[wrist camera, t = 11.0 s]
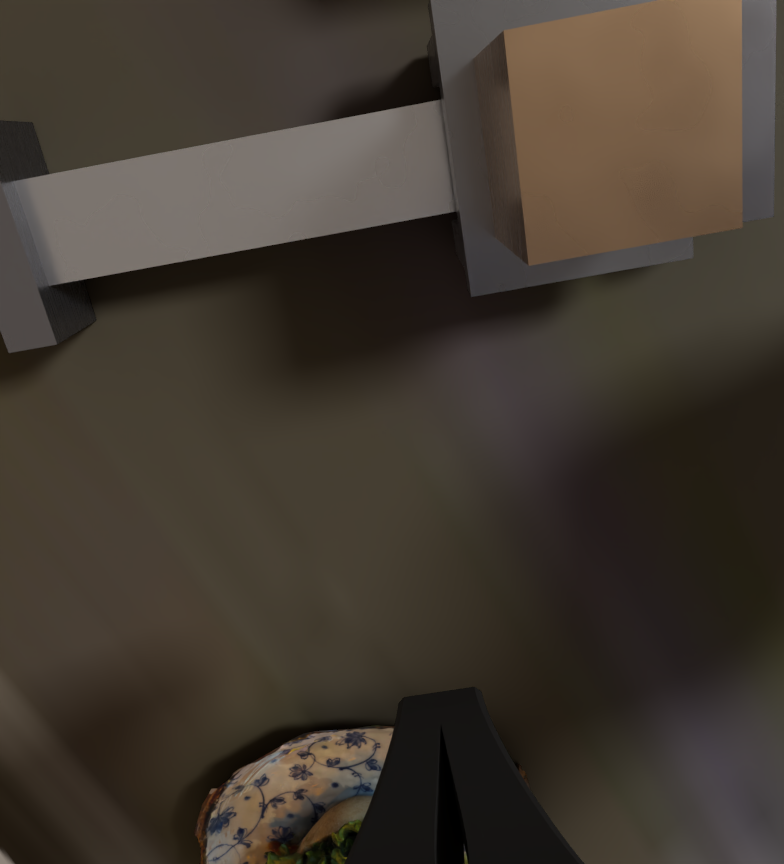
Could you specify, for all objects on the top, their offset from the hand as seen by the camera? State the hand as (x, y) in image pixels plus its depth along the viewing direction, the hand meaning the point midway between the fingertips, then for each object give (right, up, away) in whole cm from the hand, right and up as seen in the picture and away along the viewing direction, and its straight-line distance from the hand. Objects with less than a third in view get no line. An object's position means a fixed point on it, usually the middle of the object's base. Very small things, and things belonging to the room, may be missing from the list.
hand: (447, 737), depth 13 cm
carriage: (+3, +13, +6) cm, 14 cm away
